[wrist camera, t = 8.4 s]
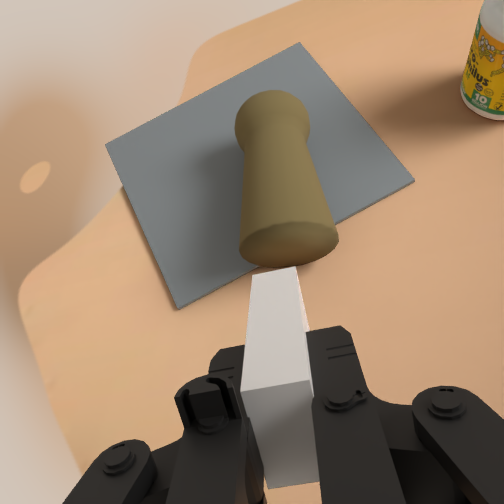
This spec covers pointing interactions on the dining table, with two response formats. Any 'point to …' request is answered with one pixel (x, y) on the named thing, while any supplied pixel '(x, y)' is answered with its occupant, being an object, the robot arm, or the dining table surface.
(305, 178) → the cork
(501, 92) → the supplement bottle
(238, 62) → the dining table surface
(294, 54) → the mat
